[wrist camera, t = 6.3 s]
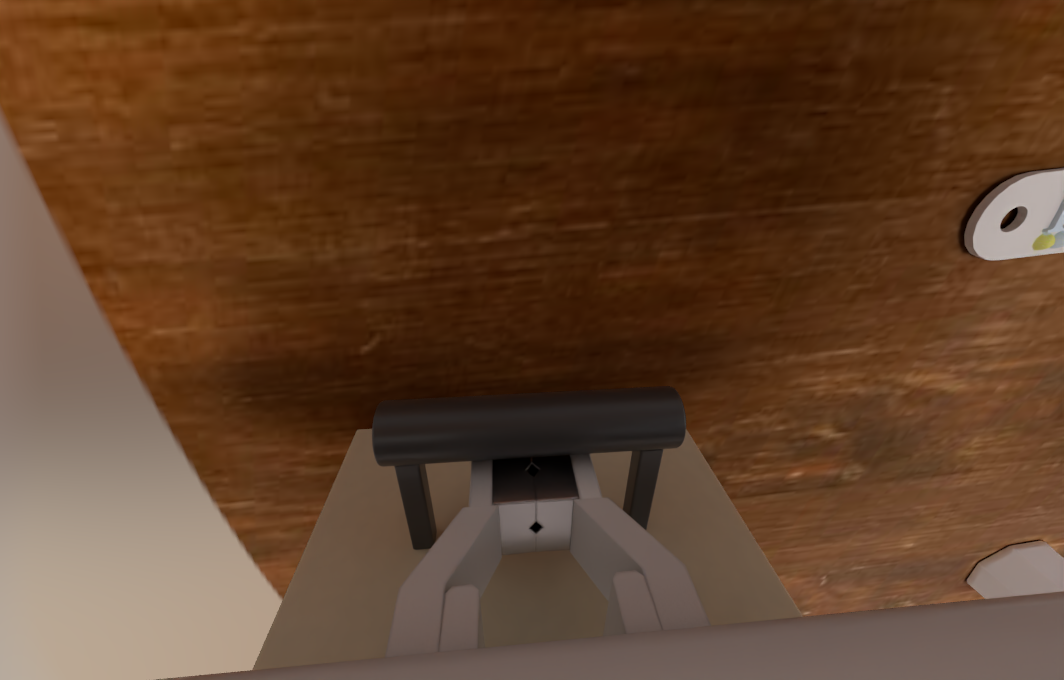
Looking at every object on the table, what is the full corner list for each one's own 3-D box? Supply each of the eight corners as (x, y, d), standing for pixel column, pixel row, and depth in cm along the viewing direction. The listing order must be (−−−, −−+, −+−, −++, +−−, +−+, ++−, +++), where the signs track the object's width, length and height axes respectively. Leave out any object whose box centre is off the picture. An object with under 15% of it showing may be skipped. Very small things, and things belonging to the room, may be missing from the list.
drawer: (326, 316, 13) (140, 537, 6) (699, 303, 14) (899, 483, 7) (406, 610, 21) (365, 842, 15) (636, 589, 22) (700, 799, 16)
